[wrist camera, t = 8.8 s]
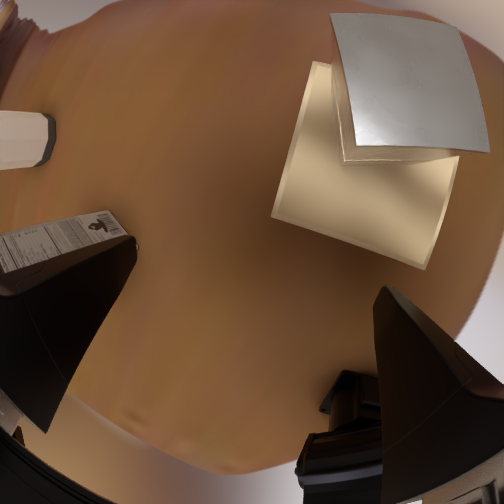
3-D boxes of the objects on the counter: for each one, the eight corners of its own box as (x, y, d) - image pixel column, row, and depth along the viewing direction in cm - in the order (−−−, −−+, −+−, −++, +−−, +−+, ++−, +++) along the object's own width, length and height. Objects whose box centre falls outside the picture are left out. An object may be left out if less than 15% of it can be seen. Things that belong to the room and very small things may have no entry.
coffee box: (109, 295, 31) (9, 354, 16) (81, 258, 31) (-19, 300, 16) (141, 246, 27) (12, 301, 12) (108, 206, 27) (-18, 234, 12)
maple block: (409, 256, 21) (425, 271, 17) (279, 211, 23) (269, 217, 19) (445, 127, 17) (466, 118, 13) (315, 79, 19) (312, 59, 15)
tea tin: (411, 165, 15) (490, 152, 6) (339, 166, 17) (356, 145, 7) (400, 95, 14) (456, 26, 5) (330, 94, 16) (329, 13, 6)
